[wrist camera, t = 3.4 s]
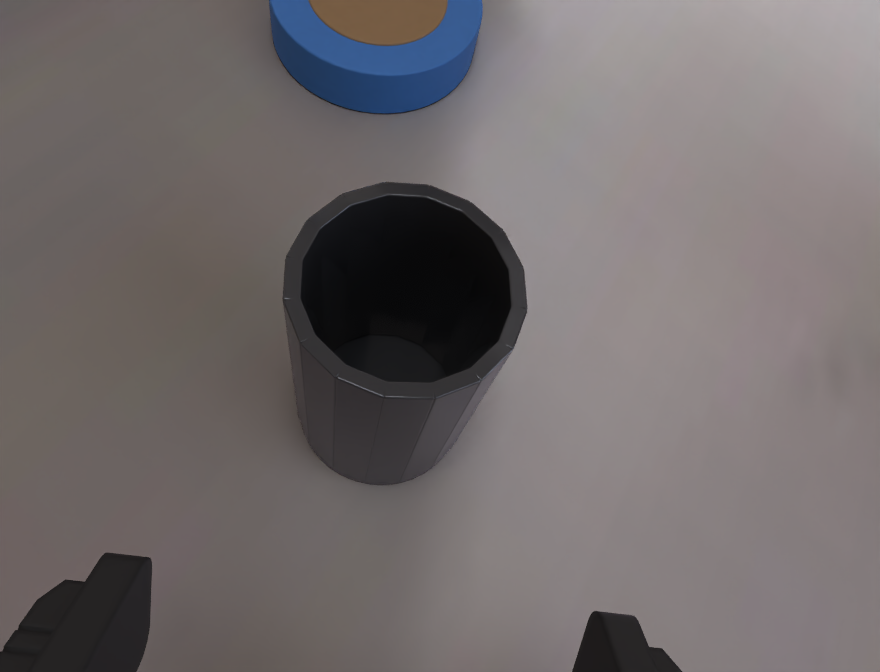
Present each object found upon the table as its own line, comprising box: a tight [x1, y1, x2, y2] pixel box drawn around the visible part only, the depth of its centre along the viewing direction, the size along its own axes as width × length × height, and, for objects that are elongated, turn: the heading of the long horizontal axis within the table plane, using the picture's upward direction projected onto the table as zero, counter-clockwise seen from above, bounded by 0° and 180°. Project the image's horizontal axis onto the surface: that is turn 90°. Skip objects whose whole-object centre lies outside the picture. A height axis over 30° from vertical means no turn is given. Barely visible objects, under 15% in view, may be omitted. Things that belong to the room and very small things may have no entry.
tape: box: [269, 0, 482, 113], centre depth 34 cm, size 10×10×3 cm
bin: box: [283, 182, 527, 485], centre depth 23 cm, size 6×6×10 cm
